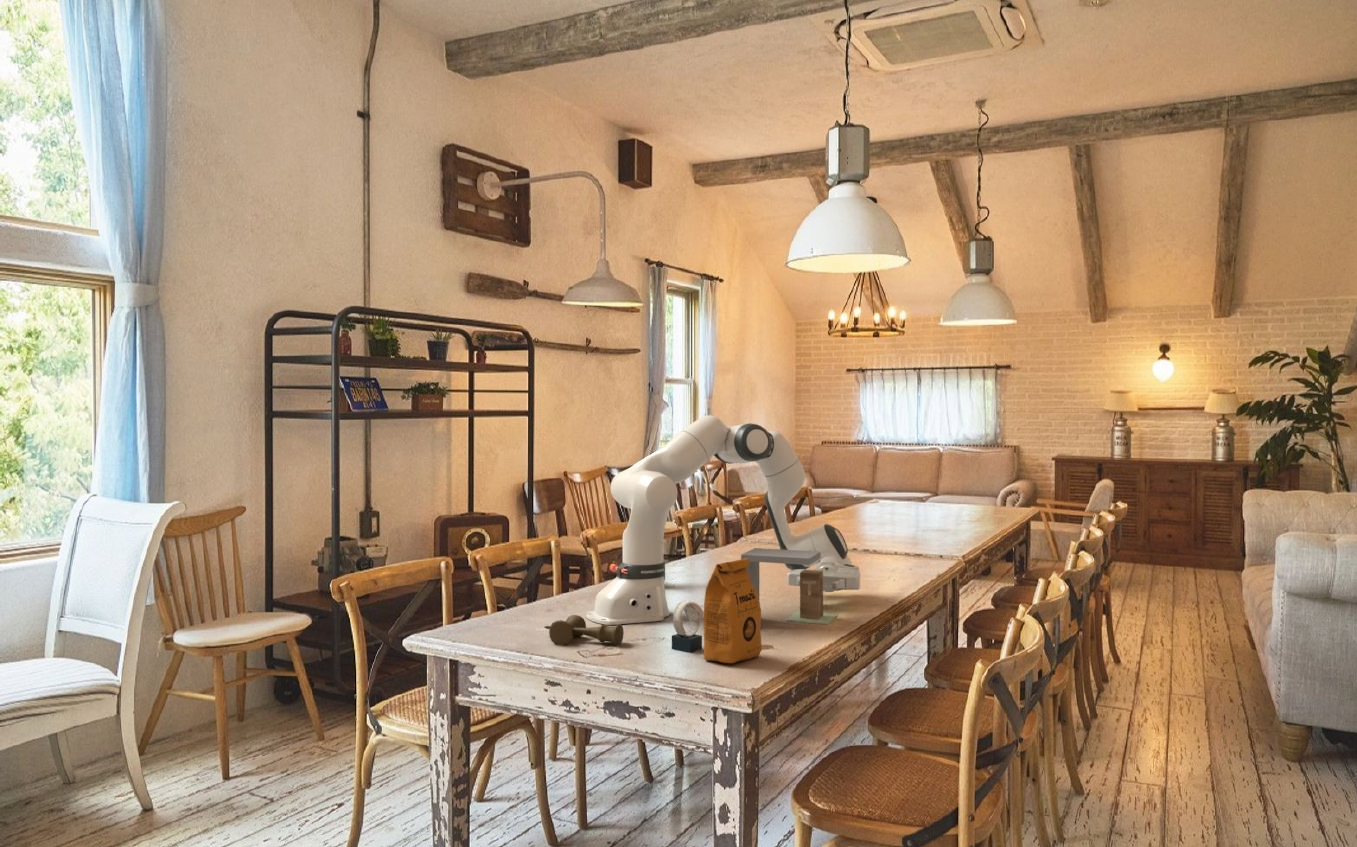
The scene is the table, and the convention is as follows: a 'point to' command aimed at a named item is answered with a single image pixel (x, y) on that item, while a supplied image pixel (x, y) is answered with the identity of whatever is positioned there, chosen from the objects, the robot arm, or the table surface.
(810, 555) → the awning
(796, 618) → the mat
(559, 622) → the kendama
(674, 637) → the white ring on block
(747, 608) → the coffee package
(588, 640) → the table surface
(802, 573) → the letter block
